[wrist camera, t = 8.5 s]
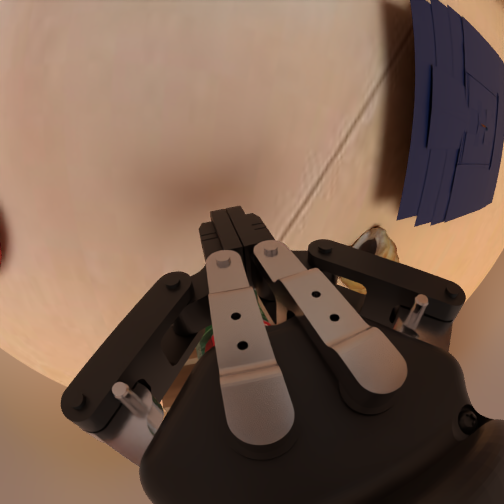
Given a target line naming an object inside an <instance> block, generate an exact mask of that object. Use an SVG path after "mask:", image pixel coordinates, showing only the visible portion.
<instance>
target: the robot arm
mask: <svg viewBox="0 0 504 504" xmlns="http://www.w3.org/2000/svg"><path fill="white" fill-rule="evenodd" d="M210 216H211V222H206V223H202V224H201V226H200V228H199V233H200V238H201V243H202V248H203V253H204V257H205V261H206V264H205V266H204V268H203V269H202V270H201V271H200V272H198V273H196V274H195V275H192V276H189V275H188V274H187V273H184V272H171V273H168V274H166V275H164V276H162V277H161V278H160V279H159V280H158V281H157V282H156V283H155V284H154V285H153V286H152V288H151V289H150V290H149V291H148V292H147V293H146V294H145V295H144V296H143V298H142V299H141V300H140V301H139V302H138V303H137V304H136V305H135V307H134V308H133V309H132V310H131V311H130V312H129V313H128V315H127V316H126V317H125V318H124V319H123V320H122V321H121V323H120V324H119V325H118V326H117V327H116V328H115V330H114V331H113V332H112V333H111V334H110V335H109V337H108V338H107V339H106V340H105V341H104V343H103V344H102V345H101V346H100V347H99V349H98V350H97V351H96V352H95V353H94V355H93V356H92V357H91V358H90V360H89V361H88V362H87V363H86V364H85V366H84V367H83V368H82V369H81V371H80V372H79V373H78V374H77V376H76V377H75V378H74V380H73V381H72V382H71V383H70V385H69V386H68V387H67V389H66V390H65V391H64V393H63V395H62V398H61V409H62V412H63V414H64V415H65V417H67V418H68V419H69V420H71V421H72V422H73V423H75V424H76V425H78V426H79V427H80V428H81V429H82V430H83V431H85V432H86V433H88V434H89V435H91V436H93V437H94V438H96V439H97V440H99V441H101V442H103V443H106V444H108V445H109V446H110V447H112V448H113V449H115V450H116V451H117V452H119V453H120V454H121V455H123V456H124V457H126V458H127V459H129V460H130V461H131V462H133V463H135V464H136V465H138V466H139V467H140V469H139V475H140V481H141V484H142V487H143V489H144V491H145V493H146V495H147V496H148V498H149V499H150V500H151V501H152V503H153V504H504V420H494V419H489V418H486V417H484V416H482V415H480V414H479V413H478V412H477V411H476V410H475V409H474V408H473V406H472V404H471V402H470V399H469V397H468V393H467V390H466V386H465V380H464V375H463V372H462V369H461V367H460V364H459V363H458V361H457V360H456V359H455V358H454V357H453V356H452V355H451V354H450V353H449V352H448V351H449V345H450V338H451V331H452V323H453V321H454V320H455V318H456V316H457V314H458V313H459V311H460V309H461V307H462V306H463V304H464V302H465V299H466V296H465V293H464V291H463V289H462V288H461V287H460V286H459V285H457V284H456V283H454V282H452V281H449V280H446V279H443V278H441V277H438V276H435V275H432V274H430V273H427V272H424V271H421V270H418V269H415V268H413V267H410V266H407V265H404V264H401V263H398V262H395V261H392V260H389V259H386V258H383V257H380V256H377V255H374V254H371V253H368V252H365V251H362V250H359V249H356V248H353V247H350V246H347V245H344V244H340V243H337V242H334V241H331V240H325V239H321V240H316V241H313V242H311V243H310V244H309V246H308V251H292V250H290V249H289V248H288V247H287V246H286V245H285V244H284V243H282V242H280V241H276V240H275V239H274V238H273V236H272V235H271V233H270V232H269V230H268V229H267V228H266V226H265V224H264V223H263V221H262V220H261V218H260V217H259V216H257V215H255V214H253V213H251V214H245V213H244V211H243V209H242V208H241V206H236V207H231V208H226V209H221V210H216V211H211V212H210ZM338 276H340V277H343V278H346V279H348V280H351V281H354V282H357V283H360V284H362V285H363V286H364V287H365V288H366V292H367V293H366V294H361V293H358V292H356V291H353V290H350V289H348V288H345V287H342V286H339V285H337V279H338ZM253 289H256V291H257V300H258V303H259V305H260V307H261V309H262V310H263V312H264V314H265V316H266V318H267V319H268V321H269V323H270V325H268V326H265V325H264V322H263V319H262V316H261V313H260V309H259V306H258V303H257V300H256V297H255V293H254V290H253ZM210 325H212V327H213V334H214V341H215V346H213V347H212V348H210V349H209V350H208V351H206V352H205V353H204V354H203V355H202V356H201V358H200V359H199V360H198V361H197V363H196V364H195V366H194V368H193V369H192V371H191V373H190V374H189V376H188V378H187V380H186V381H185V383H184V385H183V387H182V388H181V390H180V392H179V394H178V395H177V397H176V399H175V401H174V402H173V404H172V406H171V408H170V409H169V411H168V413H167V415H166V416H165V418H164V420H163V415H164V412H163V408H162V406H161V404H160V402H161V400H162V398H163V397H164V395H165V394H166V392H167V391H168V389H169V388H170V386H171V385H172V383H173V382H174V380H175V379H176V377H177V375H178V374H179V372H180V371H181V369H182V368H183V366H184V365H185V363H186V362H187V360H188V359H189V357H190V355H191V354H192V352H193V351H194V349H195V348H196V346H197V345H198V343H199V342H200V340H201V338H202V337H203V335H204V333H205V328H206V327H208V326H210ZM162 420H163V421H162ZM161 422H162V423H161Z"/></svg>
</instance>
